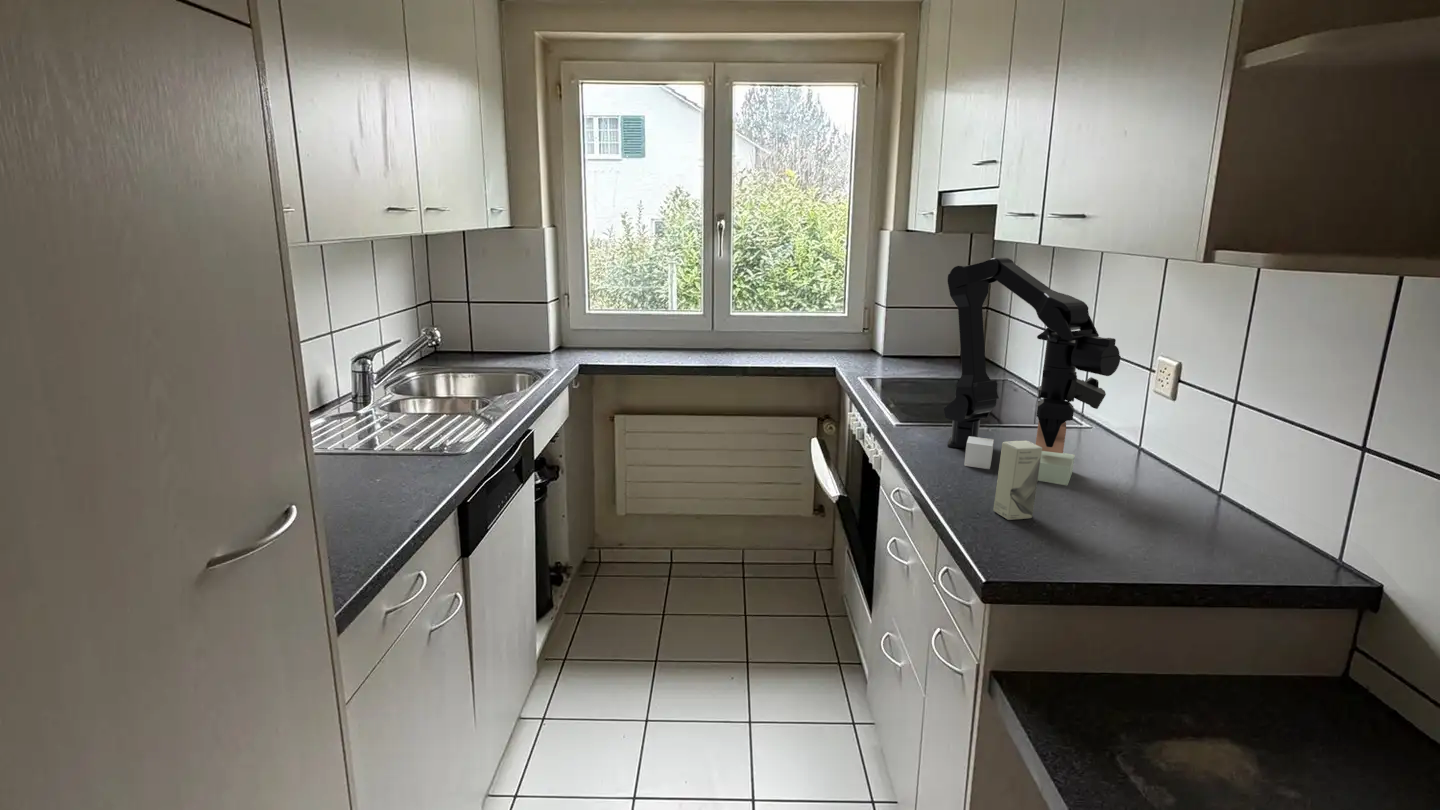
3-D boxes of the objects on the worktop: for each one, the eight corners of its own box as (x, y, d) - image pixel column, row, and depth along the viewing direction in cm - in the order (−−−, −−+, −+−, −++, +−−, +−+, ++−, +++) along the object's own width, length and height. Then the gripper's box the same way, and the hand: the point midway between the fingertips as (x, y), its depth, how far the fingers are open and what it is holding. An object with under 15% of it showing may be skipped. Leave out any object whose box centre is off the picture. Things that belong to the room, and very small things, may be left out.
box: (1007, 521, 131) (1016, 449, 128) (992, 511, 135) (1000, 441, 132) (1034, 518, 133) (1043, 446, 129) (1018, 508, 137) (1027, 439, 133)
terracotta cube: (1035, 442, 156) (1038, 419, 155) (1062, 446, 154) (1065, 422, 153) (1035, 449, 152) (1038, 425, 150) (1062, 453, 150) (1066, 428, 149)
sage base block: (1025, 465, 160) (1027, 447, 159) (1072, 473, 156) (1074, 454, 155) (1017, 478, 153) (1020, 459, 152) (1067, 487, 149) (1070, 467, 148)
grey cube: (966, 458, 163) (968, 436, 162) (991, 462, 161) (993, 439, 160) (964, 466, 159) (966, 442, 157) (989, 469, 157) (992, 446, 156)
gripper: (1109, 379, 137) (1096, 463, 141) (1103, 360, 154) (1092, 435, 158) (1041, 373, 142) (1031, 454, 146) (1043, 355, 158) (1033, 428, 162)
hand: (1049, 443), depth 153 cm, fingers closed on terracotta cube, 5 cm apart
